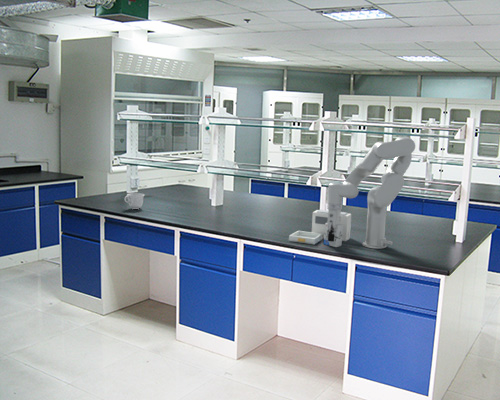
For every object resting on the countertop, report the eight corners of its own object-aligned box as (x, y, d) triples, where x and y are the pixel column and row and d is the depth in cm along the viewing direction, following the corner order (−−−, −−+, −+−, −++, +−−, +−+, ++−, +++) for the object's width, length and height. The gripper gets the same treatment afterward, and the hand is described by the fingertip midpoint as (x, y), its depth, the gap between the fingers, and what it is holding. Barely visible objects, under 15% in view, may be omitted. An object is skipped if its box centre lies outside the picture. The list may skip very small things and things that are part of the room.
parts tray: (322, 239, 289) (322, 233, 289) (314, 244, 277) (314, 239, 277) (297, 235, 296) (298, 230, 295) (288, 241, 283) (288, 235, 283)
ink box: (323, 244, 279) (324, 222, 277) (328, 242, 282) (329, 221, 280) (336, 247, 273) (337, 225, 271) (341, 245, 276) (343, 224, 274)
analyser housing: (350, 238, 293) (351, 212, 291) (345, 241, 285) (347, 215, 283) (316, 233, 302) (317, 208, 299) (311, 236, 294) (312, 211, 292)
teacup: (119, 209, 358) (119, 194, 356) (137, 206, 368) (137, 192, 367) (130, 211, 350) (129, 197, 348) (148, 209, 360) (148, 194, 359)
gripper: (336, 210, 264) (334, 244, 268) (346, 204, 280) (344, 237, 283) (322, 208, 268) (320, 242, 271) (332, 203, 283) (330, 235, 286)
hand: (332, 239), depth 277 cm, fingers closed on ink box, 6 cm apart
